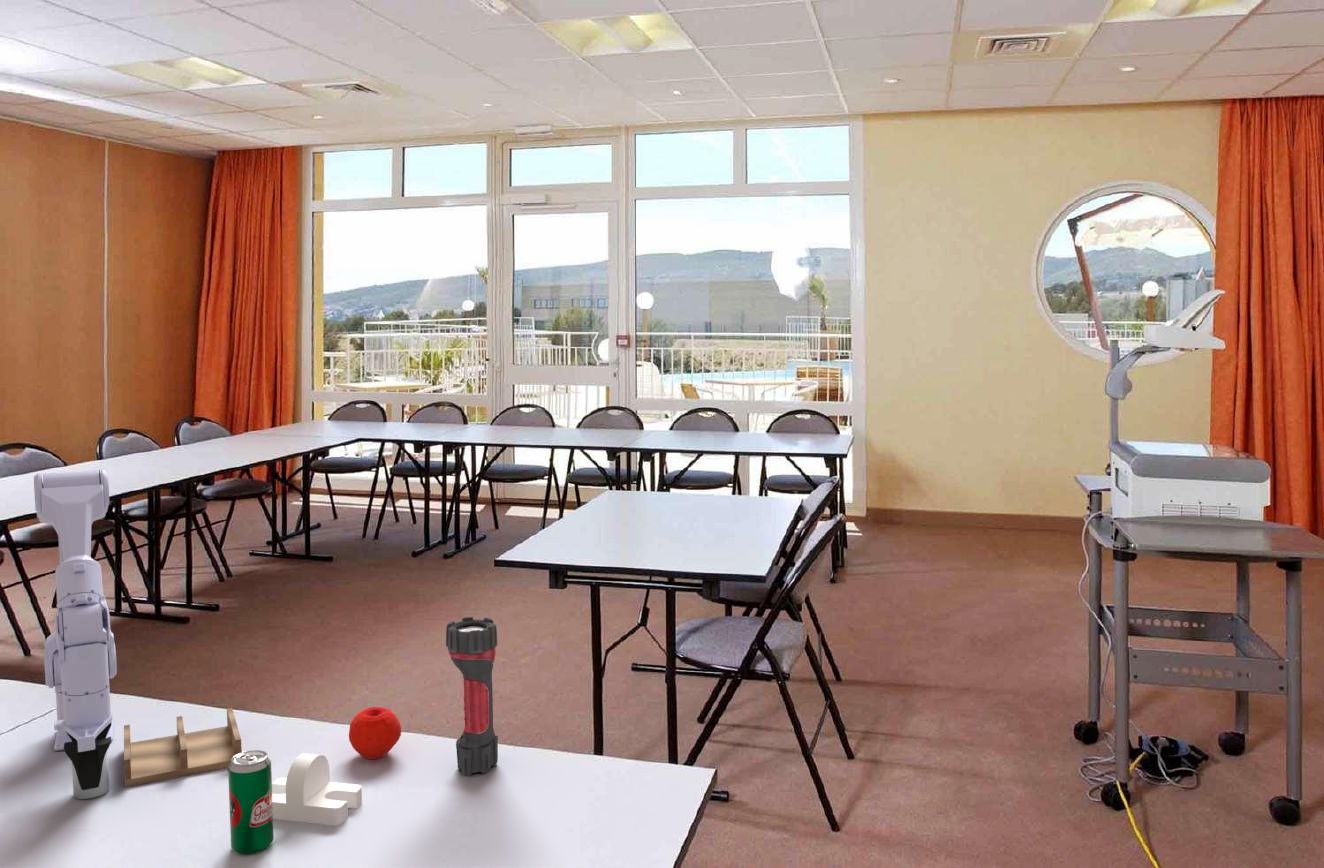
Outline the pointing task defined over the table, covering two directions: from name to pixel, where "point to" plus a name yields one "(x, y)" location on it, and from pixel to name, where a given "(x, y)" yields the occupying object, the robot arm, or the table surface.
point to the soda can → (250, 802)
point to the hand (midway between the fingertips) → (90, 780)
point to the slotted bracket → (313, 793)
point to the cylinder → (94, 791)
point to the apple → (374, 732)
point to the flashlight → (475, 691)
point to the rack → (180, 752)
